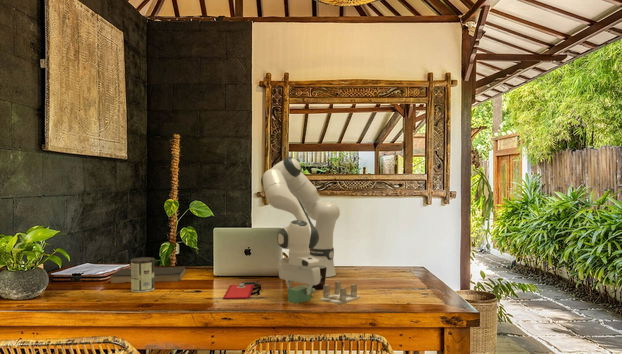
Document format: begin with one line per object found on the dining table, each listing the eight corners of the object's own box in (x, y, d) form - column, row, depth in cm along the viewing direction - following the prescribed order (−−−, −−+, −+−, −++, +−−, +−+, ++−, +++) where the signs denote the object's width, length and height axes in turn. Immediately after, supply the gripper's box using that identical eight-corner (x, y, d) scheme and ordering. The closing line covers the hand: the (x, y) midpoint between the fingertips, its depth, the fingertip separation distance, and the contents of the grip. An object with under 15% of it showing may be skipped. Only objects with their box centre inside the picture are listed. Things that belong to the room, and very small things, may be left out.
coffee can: (142, 286, 225) (142, 256, 225) (159, 288, 221) (159, 258, 221) (125, 291, 216) (125, 259, 216) (142, 293, 211) (142, 261, 211)
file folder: (109, 275, 232) (122, 267, 256) (109, 284, 232) (122, 274, 256) (179, 274, 236) (185, 265, 260) (179, 282, 236) (185, 273, 260)
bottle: (287, 302, 198) (287, 288, 198) (308, 295, 209) (308, 282, 209) (297, 304, 194) (297, 290, 194) (318, 297, 205) (318, 284, 205)
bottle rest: (320, 300, 200) (320, 286, 200) (339, 293, 211) (339, 280, 211) (340, 304, 193) (340, 289, 193) (359, 297, 204) (359, 283, 204)
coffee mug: (329, 286, 224) (329, 265, 224) (323, 291, 216) (323, 268, 216) (305, 285, 228) (305, 264, 228) (299, 289, 220) (299, 267, 220)
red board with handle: (263, 283, 232) (232, 284, 231) (263, 277, 232) (232, 278, 231) (258, 300, 202) (222, 301, 201) (258, 293, 202) (222, 294, 201)
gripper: (275, 257, 204) (275, 290, 204) (313, 263, 191) (312, 298, 191) (285, 256, 209) (285, 287, 209) (322, 261, 196) (322, 295, 196)
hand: (298, 292), depth 200 cm, fingers open, 8 cm apart
